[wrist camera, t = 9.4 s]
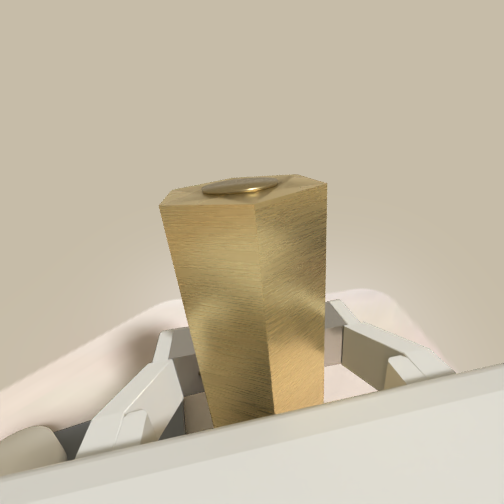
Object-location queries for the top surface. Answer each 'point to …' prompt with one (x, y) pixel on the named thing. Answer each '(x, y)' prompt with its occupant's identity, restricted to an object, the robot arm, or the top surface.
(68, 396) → the top surface
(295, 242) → the coupling nut
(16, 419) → the top surface
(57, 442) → the mat
